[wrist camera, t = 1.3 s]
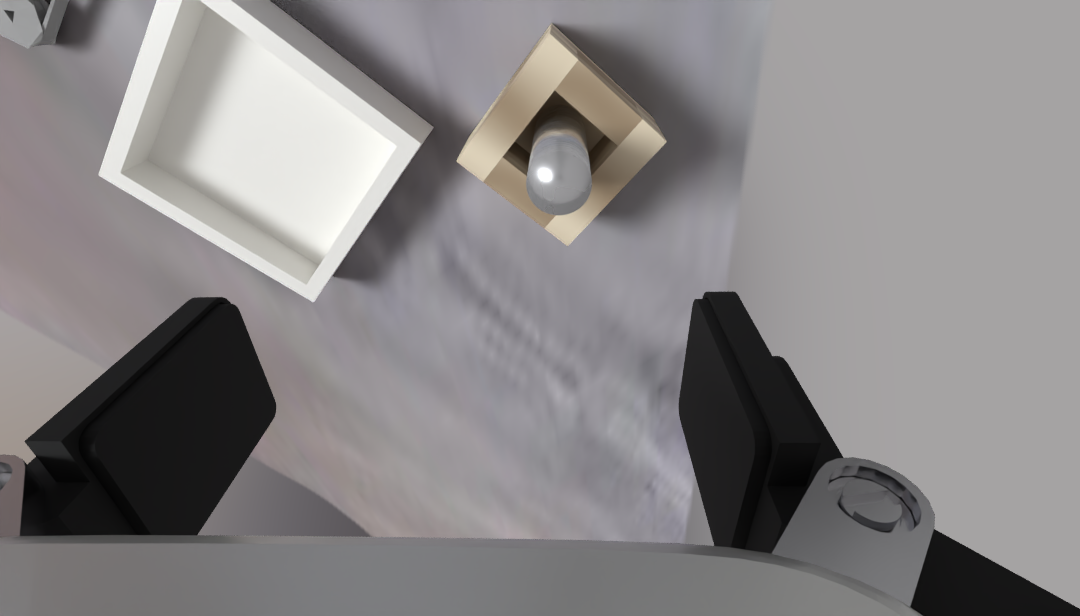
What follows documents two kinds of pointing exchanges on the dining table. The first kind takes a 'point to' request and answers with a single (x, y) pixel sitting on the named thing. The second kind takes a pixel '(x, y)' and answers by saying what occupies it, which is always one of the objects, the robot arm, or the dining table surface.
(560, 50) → the tan hollow square block
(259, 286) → the dining table surface
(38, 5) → the pulley system
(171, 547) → the robot arm
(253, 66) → the tray
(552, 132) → the pin
